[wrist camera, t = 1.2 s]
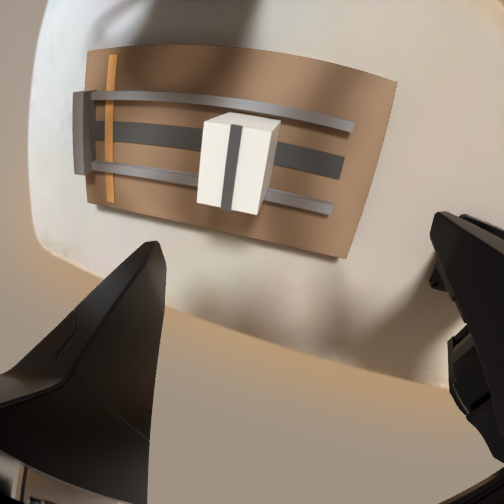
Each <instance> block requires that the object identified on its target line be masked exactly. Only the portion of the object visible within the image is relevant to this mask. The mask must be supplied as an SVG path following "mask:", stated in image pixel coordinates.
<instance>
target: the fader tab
mask: <svg viewBox="0 0 504 504" xmlns="http://www.w3.org/2000/svg"><path fill="white" fill-rule="evenodd" d="M280 125H281V121H280V120H275V119H270V118H264V117H258V116H252V115H246V114H240V113H233V112H229V113H226V114H223V115H220V116H218V117H215V118H212V119H209V120H207V121H204V127H203V137H202V146H201V157H200V168H199V179H198V191H197V203H201V204H206V205H211V206H216V207H221V208H220V210H224V211H229V212H231V210H235V211H240V212H245V213H250V214H254V215H257V214H258V212H259V209H260V207H261V204H262V202H263V199H264V197H265V195H266V192H267V190H268V187H269V185H270V180H271V174H272V169H273V163H274V158H275V152H276V147H277V142H278V136H279V131H280Z"/></svg>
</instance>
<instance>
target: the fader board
mask: <svg viewBox="0 0 504 504" xmlns="http://www.w3.org/2000/svg"><path fill="white" fill-rule="evenodd" d="M396 87H397V82H395V81H392V80H389V79H386V78H383V77H380V76H377V75H374V74H370V73H367V72H364V71H360V70H357V69H353V68H349V67H346V66H342V65H338V64H334V63H330V62H325V61H321V60H316V59H312V58H307V57H302V56H296V55H291V54H285V53H279V52H272V51H265V50H257V49H249V48H239V47H227V46H212V45H144V46H129V47H117V48H108V49H100V50H92V51H88V53H87V64H86V76H85V91H79V92H74V93H73V156H74V172H75V174H78V175H85V176H86V190H87V201H88V203H92V204H97V205H101V206H106V207H111V208H116V209H121V210H126V211H130V212H135V213H140V214H145V215H150V216H154V217H159V218H164V219H168V220H173V221H178V222H182V223H187V224H192V225H196V226H201V227H205V228H210V229H215V230H219V231H224V232H228V233H233V234H237V235H242V236H246V237H251V238H255V239H260V240H264V241H269V242H273V243H277V244H282V245H286V246H291V247H295V248H299V249H304V250H308V251H312V252H317V253H321V254H325V255H330V256H334V257H338V258H342V259H346V258H347V255H348V252H349V249H350V247H351V244H352V241H353V238H354V235H355V232H356V229H357V226H358V224H359V221H360V218H361V215H362V212H363V208H364V205H365V202H366V199H367V196H368V193H369V190H370V186H371V183H372V180H373V176H374V173H375V170H376V166H377V163H378V159H379V155H380V152H381V148H382V145H383V141H384V137H385V133H386V129H387V125H388V121H389V117H390V113H391V109H392V105H393V100H394V96H395V91H396ZM229 112H233V113H240V114H246V115H252V116H258V117H264V118H270V119H275V120H280V121H281V125H280V131H279V136H278V142H277V147H276V152H275V158H274V163H273V169H272V174H271V180H270V185H269V187H268V190H267V192H266V195H265V197H264V199H263V202H262V204H261V207H260V209H259V212H258V214H257V215H254V214H250V213H245V212H240V211H235V210H231V212H229V211H224V210H220V208H221V207H216V206H211V205H206V204H201V203H197V191H198V179H199V168H200V157H201V146H202V137H203V127H204V121H207V120H209V119H212V118H215V117H218V116H220V115H223V114H226V113H229Z"/></svg>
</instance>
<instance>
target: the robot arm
mask: <svg viewBox="0 0 504 504" xmlns="http://www.w3.org/2000/svg"><path fill="white" fill-rule="evenodd" d="M430 239H431V241H432V244H433V246H434V249H435V251H436V253H437V256H438V258H439V261H438V263H437V265H436V269H435V270H434V272H433V274H432V276H431V278H430V280H429V284H430V286H431V287H432V288H433V289H437V290H442V291H446V292H448V293H449V295H450V297H451V299H452V301H453V302H455V304H456V306H457V308H458V310H459V312H460V315H461V317H462V319H463V321H464V323H467V325H466V326H465V327H464V328H463V329H462V330H461V331H460V332H459V333H458V334H457V335H456V336H453V337H452V338H451V339H449V340H448V342H447V344H448V369H449V391H450V394H451V395H452V397H453V399H454V401H455V403H456V405H457V406H458V407H459V409H460V410H461V411H462V412H463V413H464V414H465V415H466V418H467V420H468V421H469V422H470V423H471V424H472V425H473V426H475V427H476V428H477V430H478V431H479V432H480V434H481V435H482V436H483V438H484V440H485V441H486V443H487V445H488V447H489V449H490V451H491V453H492V455H493V457H494V458H496V459H498V460H499V461H501V462H503V463H504V230H503V229H501V228H499V227H496V226H494V225H491V224H489V223H487V222H484V221H482V220H479V219H477V218H474V217H472V216H469V215H466V214H463V215H461V216H460V217H457V216H455V215H453V214H451V213H449V212H446V211H443V212H437V213H436V214H435V215H434V219H433V223H432V226H431V230H430ZM435 281H437V282H436V283H434V282H435ZM165 287H166V262H165V259H164V256H163V253H162V250H161V247H160V244H159V242H158V241H150V242H145V243H144V244H142V245H141V246H140V247H139V248H138V249H137V250H136V251H135V252H133V253H132V254H131V255H130V256H129V257H128V258H127V259H126V260H125V261H124V262H122V263H121V264H120V265H119V266H118V267H117V268H116V269H115V270H114V271H113V272H112V273H111V274H109V275H108V276H107V277H106V278H105V279H104V280H103V281H102V282H101V283H100V284H99V285H98V286H97V287H96V288H95V289H94V290H93V291H92V292H91V293H90V294H89V295H88V296H87V297H86V298H85V299H84V300H83V301H81V302H80V304H78V306H76V308H75V309H74V310H73V311H71V312H70V313H69V315H68V316H67V317H66V318H65V319H64V320H63V321H62V322H61V323H60V324H59V325H58V326H57V327H56V328H55V329H54V330H52V331H51V332H50V333H49V334H48V335H47V336H46V337H45V338H44V339H43V340H42V341H41V342H40V343H39V344H38V345H36V346H35V347H34V348H33V349H32V350H31V351H30V352H29V353H28V354H27V355H26V356H25V357H24V358H23V359H22V360H20V361H19V362H18V363H17V365H15V366H14V367H13V368H12V369H10V370H9V371H7V372H5V373H3V374H0V504H117V502H120V503H125V504H147V487H148V463H149V445H150V442H149V440H150V429H151V416H152V405H153V395H154V386H155V377H156V369H157V360H158V353H159V346H160V345H159V344H160V338H161V331H162V324H163V317H164V309H165ZM439 504H504V467H503V468H502V469H500V470H499V471H497V472H496V473H494V474H492V475H491V476H489V477H488V478H486V479H484V480H483V481H481V482H479V483H477V484H476V485H474V486H472V487H471V488H469V489H467V490H465V491H463V492H461V493H459V494H457V495H455V496H453V497H451V498H450V499H447V500H445V501H443V502H441V503H439Z"/></svg>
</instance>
